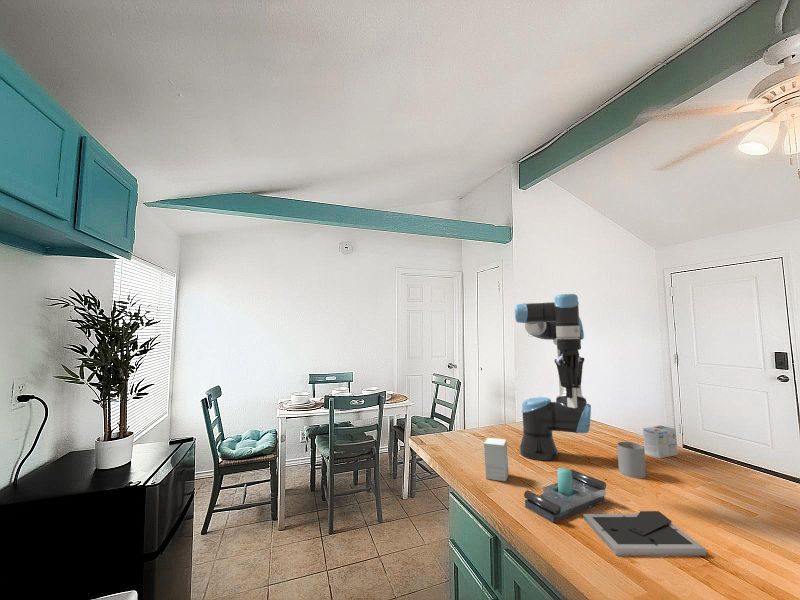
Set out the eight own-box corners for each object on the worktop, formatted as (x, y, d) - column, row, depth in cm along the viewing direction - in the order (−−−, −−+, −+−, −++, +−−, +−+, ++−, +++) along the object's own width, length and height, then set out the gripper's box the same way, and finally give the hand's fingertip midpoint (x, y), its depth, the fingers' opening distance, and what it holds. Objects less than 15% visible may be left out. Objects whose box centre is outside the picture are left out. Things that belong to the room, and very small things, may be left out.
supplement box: (509, 474, 131) (507, 439, 132) (506, 482, 124) (504, 445, 125) (488, 471, 134) (487, 437, 135) (484, 478, 127) (483, 442, 128)
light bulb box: (662, 450, 153) (660, 424, 154) (678, 455, 146) (676, 428, 147) (644, 453, 149) (642, 427, 150) (660, 458, 143) (658, 431, 144)
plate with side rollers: (523, 506, 107) (522, 484, 108) (575, 488, 118) (574, 468, 119) (554, 523, 97) (553, 499, 98) (607, 502, 109) (606, 480, 109)
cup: (650, 479, 124) (648, 449, 125) (624, 477, 126) (622, 448, 127) (639, 469, 133) (637, 442, 133) (615, 468, 134) (613, 441, 135)
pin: (556, 503, 109) (554, 469, 109) (564, 500, 110) (562, 467, 111) (567, 509, 105) (565, 474, 106) (576, 505, 107) (574, 471, 108)
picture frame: (659, 521, 98) (583, 521, 99) (658, 511, 99) (583, 511, 99) (706, 557, 83) (616, 557, 83) (705, 545, 83) (615, 545, 84)
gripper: (565, 339, 117) (569, 411, 115) (590, 337, 123) (594, 406, 121) (546, 338, 124) (550, 407, 122) (571, 337, 130) (574, 403, 128)
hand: (572, 407), depth 122 cm, fingers closed
